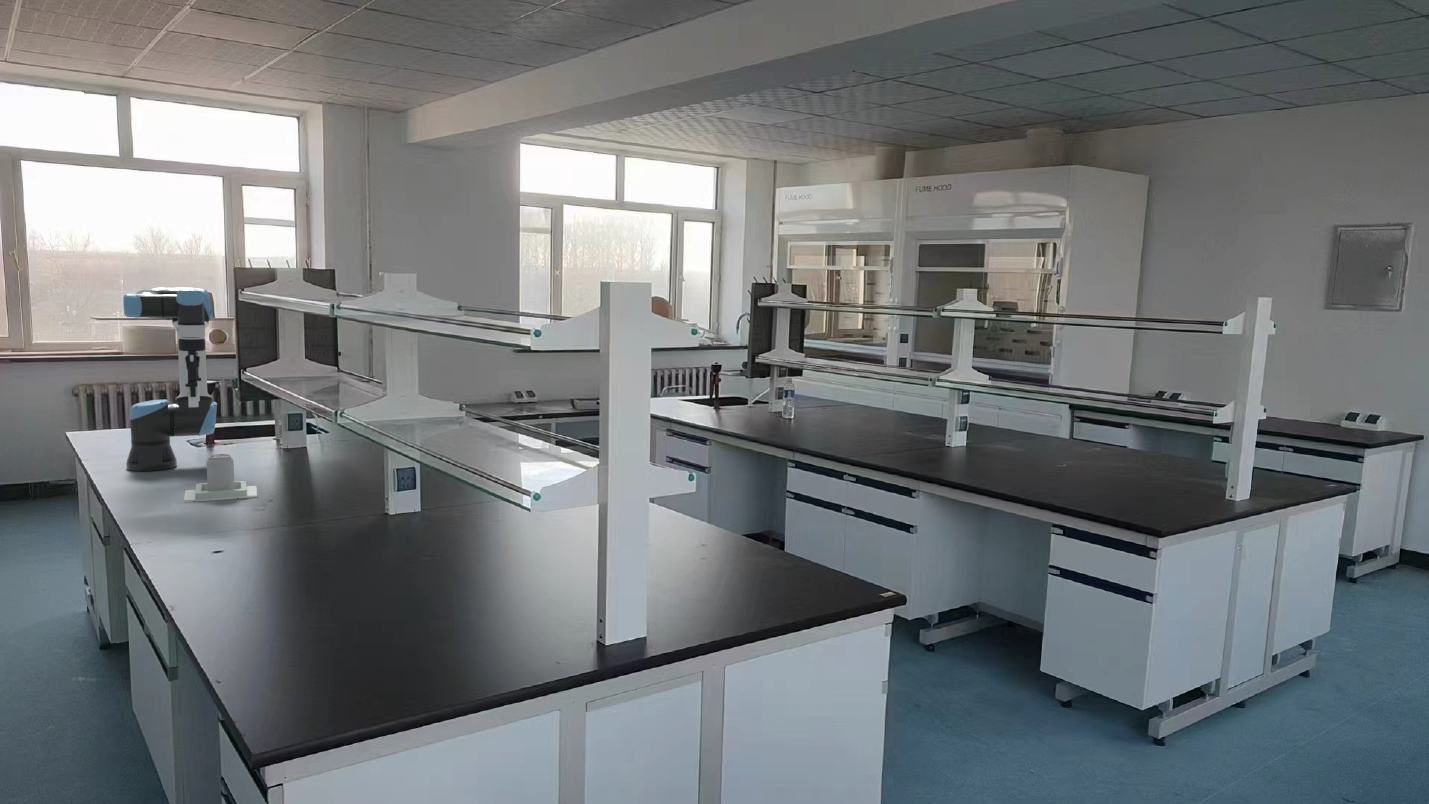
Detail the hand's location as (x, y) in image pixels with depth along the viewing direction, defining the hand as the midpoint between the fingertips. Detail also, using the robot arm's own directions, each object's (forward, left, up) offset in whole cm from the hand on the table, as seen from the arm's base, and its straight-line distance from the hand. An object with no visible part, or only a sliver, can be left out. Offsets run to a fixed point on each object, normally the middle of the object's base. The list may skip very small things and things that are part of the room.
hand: (194, 404), depth 300 cm
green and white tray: (+16, +7, -27) cm, 32 cm away
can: (+16, +7, -26) cm, 32 cm away
